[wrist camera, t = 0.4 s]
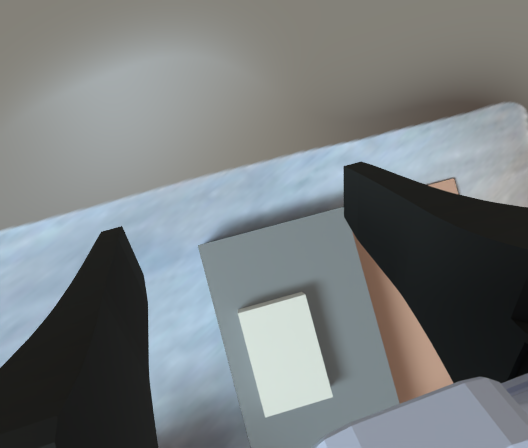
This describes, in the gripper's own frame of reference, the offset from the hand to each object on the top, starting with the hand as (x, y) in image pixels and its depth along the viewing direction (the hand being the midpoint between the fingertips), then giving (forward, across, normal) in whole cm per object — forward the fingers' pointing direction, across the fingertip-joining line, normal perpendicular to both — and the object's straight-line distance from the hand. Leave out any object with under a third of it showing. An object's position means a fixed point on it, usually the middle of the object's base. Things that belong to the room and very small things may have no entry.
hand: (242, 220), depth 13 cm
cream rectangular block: (+11, -3, +23) cm, 26 cm away
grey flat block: (+14, -5, +26) cm, 29 cm away
